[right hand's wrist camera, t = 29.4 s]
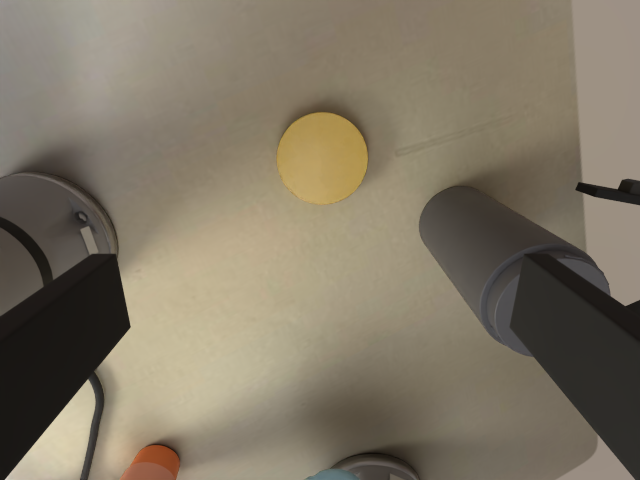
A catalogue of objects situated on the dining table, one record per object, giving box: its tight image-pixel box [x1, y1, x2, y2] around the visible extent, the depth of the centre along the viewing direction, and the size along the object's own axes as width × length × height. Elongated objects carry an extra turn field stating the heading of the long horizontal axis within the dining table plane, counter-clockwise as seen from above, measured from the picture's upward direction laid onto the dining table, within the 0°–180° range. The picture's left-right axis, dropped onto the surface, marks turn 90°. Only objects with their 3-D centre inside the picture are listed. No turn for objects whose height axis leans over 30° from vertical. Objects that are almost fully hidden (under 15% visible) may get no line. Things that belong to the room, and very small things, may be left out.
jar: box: [419, 186, 610, 357], centre depth 34 cm, size 8×8×19 cm
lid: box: [277, 112, 368, 205], centre depth 40 cm, size 9×9×2 cm
